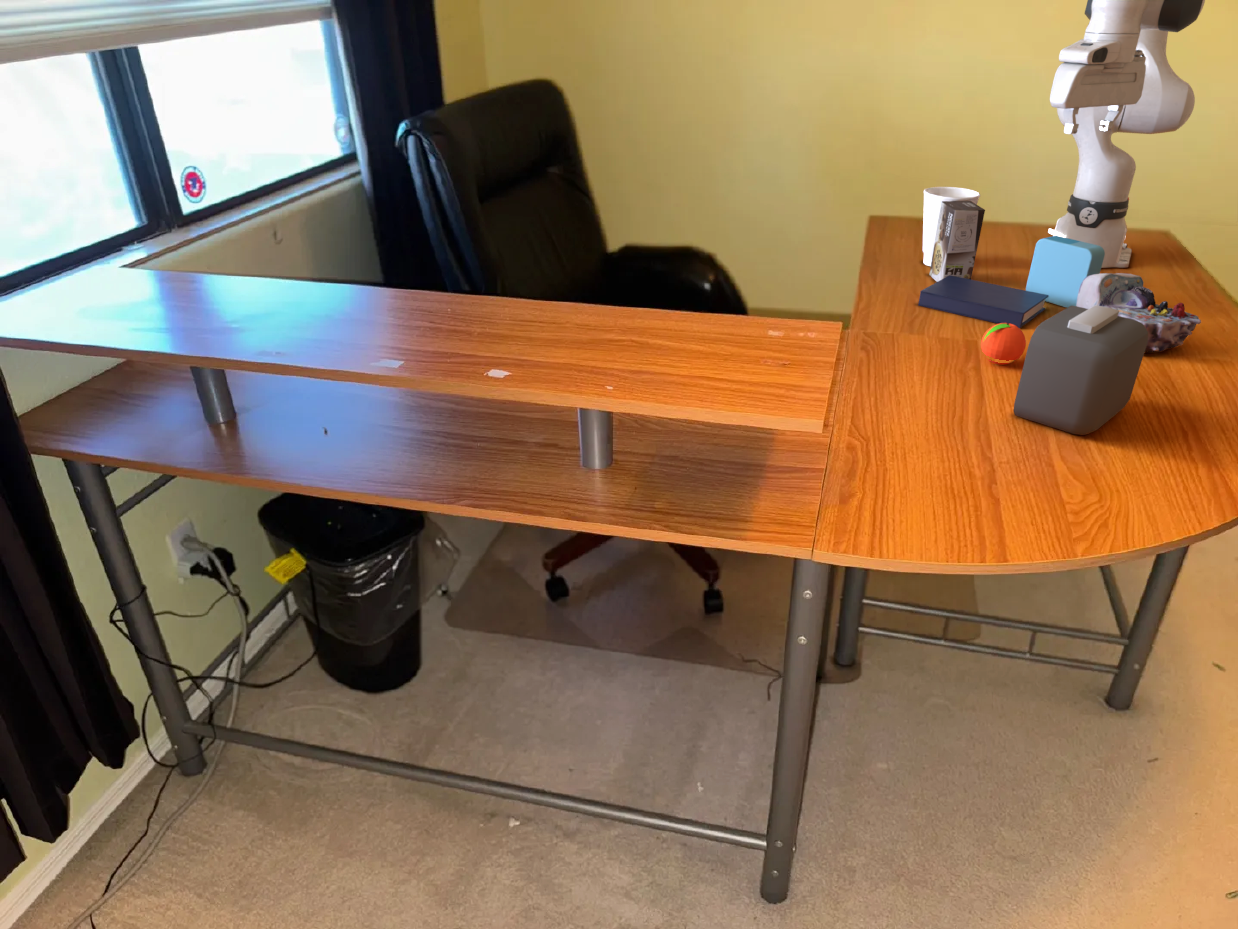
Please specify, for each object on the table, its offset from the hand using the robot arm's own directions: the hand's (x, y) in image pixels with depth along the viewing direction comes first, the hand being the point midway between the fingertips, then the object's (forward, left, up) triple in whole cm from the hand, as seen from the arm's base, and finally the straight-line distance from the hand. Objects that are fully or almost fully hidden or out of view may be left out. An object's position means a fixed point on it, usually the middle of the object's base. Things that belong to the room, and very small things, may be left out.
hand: (1087, 132), depth 165 cm
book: (+16, -8, -32) cm, 36 cm away
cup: (-8, -27, -32) cm, 43 cm away
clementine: (+43, +5, -32) cm, 54 cm away
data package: (+2, +2, -32) cm, 32 cm away
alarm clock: (+56, +21, -32) cm, 68 cm away
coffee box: (+3, -20, -32) cm, 38 cm away
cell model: (+16, +19, -32) cm, 40 cm away
